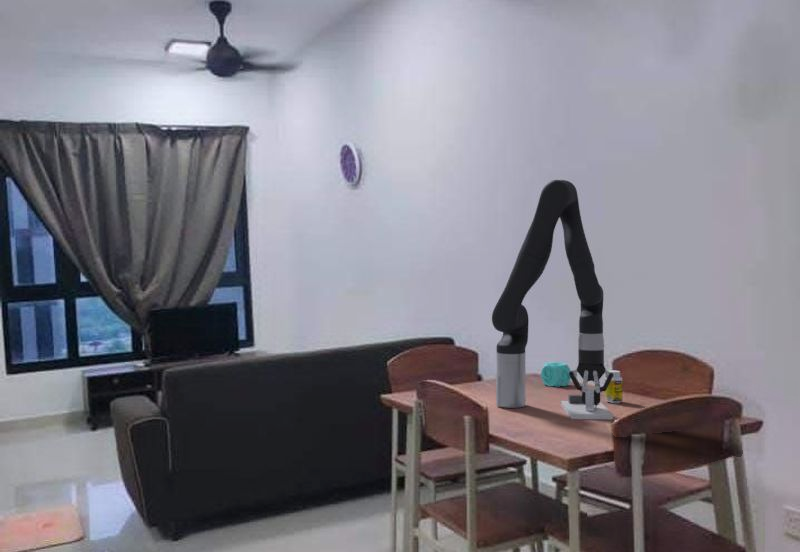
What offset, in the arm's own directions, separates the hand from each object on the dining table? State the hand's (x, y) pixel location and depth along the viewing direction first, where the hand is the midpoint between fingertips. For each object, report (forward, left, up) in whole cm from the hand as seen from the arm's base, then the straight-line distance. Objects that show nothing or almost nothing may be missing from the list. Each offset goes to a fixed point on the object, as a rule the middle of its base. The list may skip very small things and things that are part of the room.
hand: (591, 404), depth 227 cm
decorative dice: (-3, +51, -3) cm, 51 cm away
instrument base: (-1, +3, -3) cm, 4 cm away
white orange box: (0, 0, -2) cm, 2 cm away
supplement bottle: (+11, +19, -3) cm, 22 cm away
